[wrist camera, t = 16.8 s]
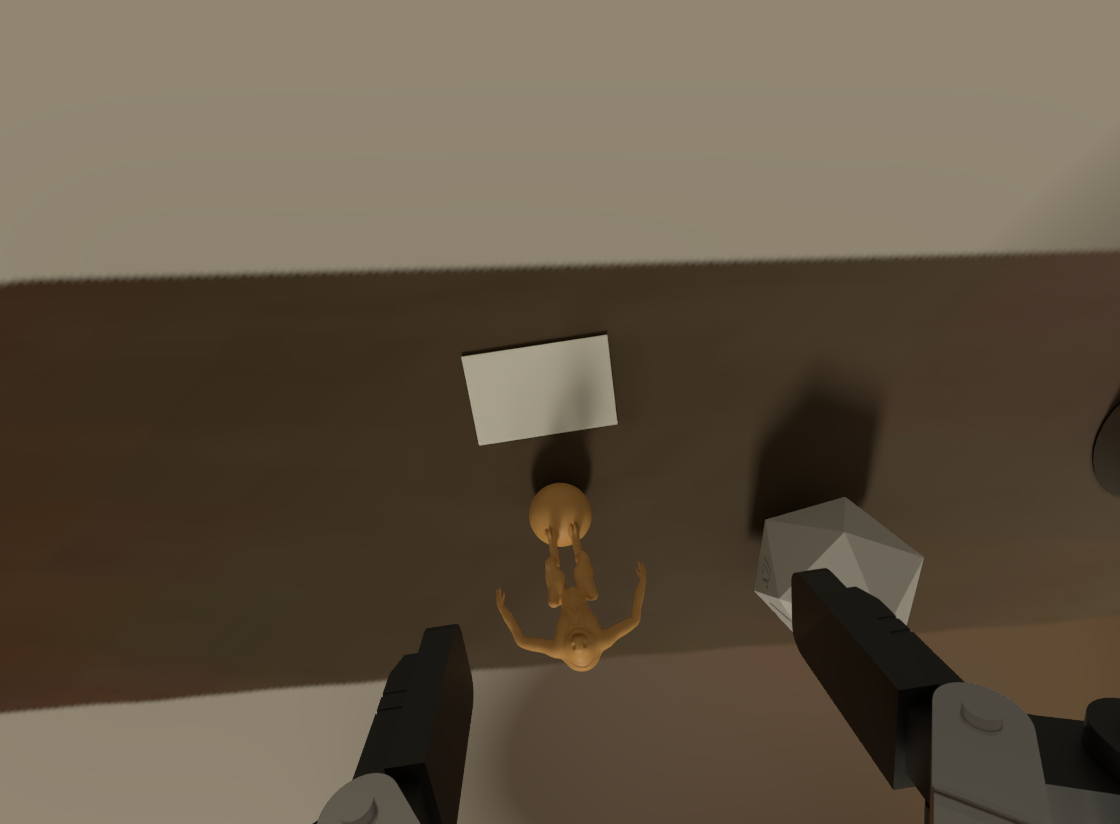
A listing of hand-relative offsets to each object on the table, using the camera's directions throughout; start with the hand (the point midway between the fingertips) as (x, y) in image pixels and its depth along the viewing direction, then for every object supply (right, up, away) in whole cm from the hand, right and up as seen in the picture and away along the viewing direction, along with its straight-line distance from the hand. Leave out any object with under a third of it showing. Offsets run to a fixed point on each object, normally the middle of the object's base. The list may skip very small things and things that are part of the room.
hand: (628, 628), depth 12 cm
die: (+15, -3, +25) cm, 29 cm away
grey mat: (-3, +6, +20) cm, 21 cm away
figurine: (-2, -2, +23) cm, 23 cm away
